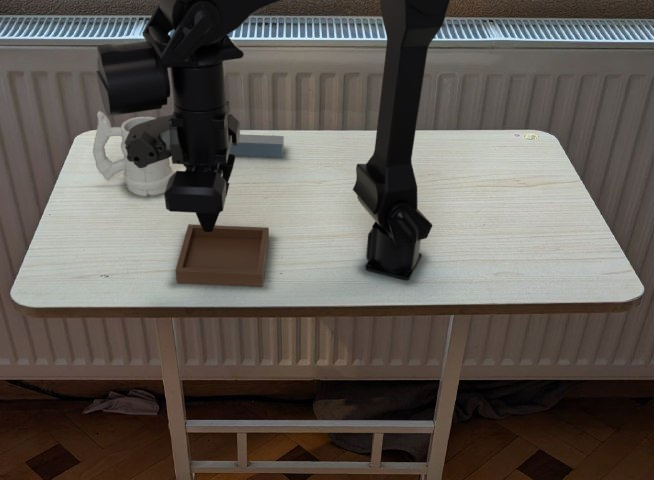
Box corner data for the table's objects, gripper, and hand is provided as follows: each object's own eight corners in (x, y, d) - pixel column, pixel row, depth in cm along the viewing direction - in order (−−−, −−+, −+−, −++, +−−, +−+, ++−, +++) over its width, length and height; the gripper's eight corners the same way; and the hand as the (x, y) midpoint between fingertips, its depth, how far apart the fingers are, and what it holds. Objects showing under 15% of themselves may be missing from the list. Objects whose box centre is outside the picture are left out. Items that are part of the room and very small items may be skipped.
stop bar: (282, 158, 139) (282, 144, 137) (210, 155, 139) (209, 141, 137) (283, 149, 141) (283, 135, 139) (213, 146, 141) (212, 132, 139)
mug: (174, 196, 129) (166, 122, 120) (96, 198, 128) (82, 124, 119) (175, 172, 134) (167, 100, 126) (100, 174, 133) (88, 101, 125)
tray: (262, 287, 112) (262, 274, 111) (176, 283, 112) (175, 270, 111) (269, 239, 121) (268, 227, 119) (189, 236, 121) (188, 224, 119)
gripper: (142, 63, 97) (157, 183, 108) (107, 137, 84) (128, 266, 94) (237, 67, 97) (242, 187, 108) (217, 141, 84) (225, 270, 94)
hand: (209, 224), depth 101 cm, fingers open, 3 cm apart
